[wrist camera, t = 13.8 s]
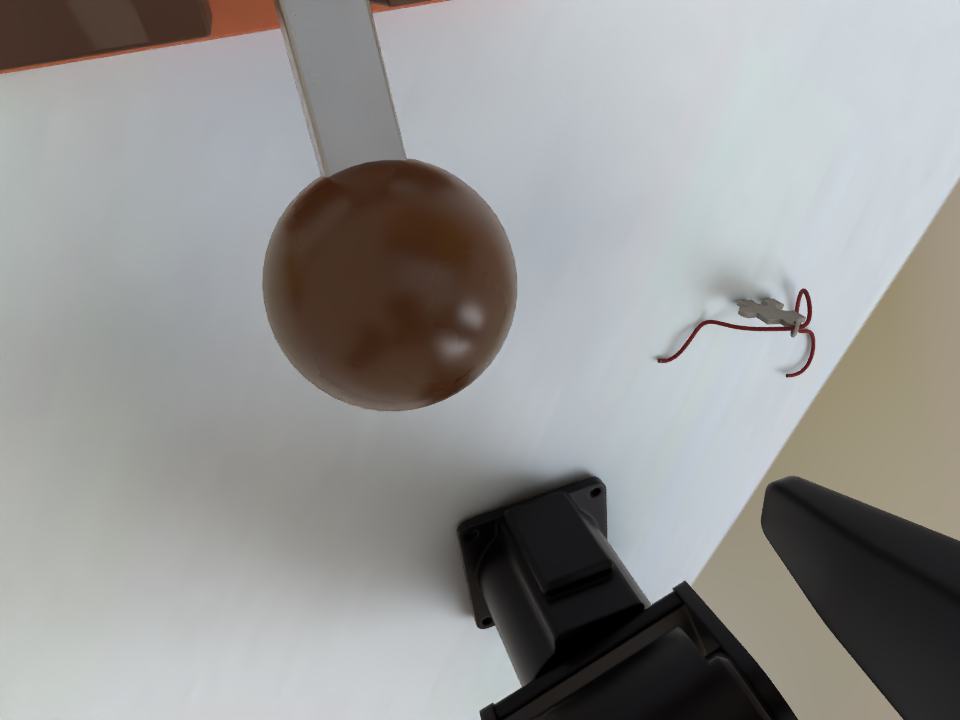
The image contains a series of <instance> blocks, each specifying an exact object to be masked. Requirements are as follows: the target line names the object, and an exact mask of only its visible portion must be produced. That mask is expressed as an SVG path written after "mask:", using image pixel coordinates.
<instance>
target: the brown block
mask: <svg viewBox="0 0 960 720" xmlns="http://www.w3.org/2000/svg"><path fill="white" fill-rule="evenodd" d="M443 1H449V0H369V3H370V7H371V11H372V13H376V12H382V11H388V10H394V9H400V8H406V7H412V6H418V5H424V4H431V3H437V2H443ZM278 28H280V24H279V21H278V17H277V13H276V10H275V6H274V2H273V0H0V74H4V73H10V72H16V71H22V70H28V69H34V68H40V67H46V66H52V65H59V64H65V63H71V62H77V61H83V60H89V59H95V58H101V57H107V56H113V55H120V54H126V53H132V52H138V51H144V50H150V49H156V48H162V47H168V46H174V45H180V44H187V43H193V42H199V41H205V40H211V39H217V38H223V37H229V36H235V35H241V34H248V33H254V32H260V31H266V30H272V29H278Z"/></svg>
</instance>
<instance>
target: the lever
mask: <svg viewBox="0 0 960 720" xmlns="http://www.w3.org/2000/svg"><path fill="white" fill-rule="evenodd" d="M273 2H274V6H275V10H276V13H277V17H278V21H279V24H280V28H281V32H282V35H283V39H284V42H285V46H286V50H287V53H288V57H289V61H290V64H291V68H292V72H293V75H294V79H295V83H296V86H297V90H298V94H299V97H300V101H301V105H302V108H303V112H304V116H305V119H306V123H307V127H308V130H309V134H310V137H311V141H312V145H313V148H314V152H315V156H316V159H317V163H318V167H319V170H320V174H321V177H319V178H317V179H316V180H314V181H313V182H312V183H311V184H309V185H308V186H307V187H306V188H305V189H303V190H302V191H301V192H300V193H299V194H298V195H297V196H296V197H295V199H294V200H293V201H292V202H291V203H290V204H289V205H288V207H287V208H286V210H285V211H284V213H283V214H282V216H281V217H280V219H279V220H278V222H277V224H276V226H275V229H274V231H273V233H272V235H271V238H270V241H269V244H268V247H267V250H266V254H265V260H264V265H263V281H262V287H263V298H264V305H265V309H266V313H267V317H268V321H269V324H270V326H271V329H272V331H273V334H274V337H275V339H276V340H277V342H278V344H279V346H280V348H281V349H282V351H283V353H284V354H285V356H286V357H287V358H288V360H289V361H290V362H291V364H292V365H293V366H294V367H295V368H296V369H297V370H298V371H299V372H300V373H301V374H302V375H303V376H304V377H305V378H306V379H307V380H308V381H309V382H311V383H312V384H313V385H315V386H316V387H317V388H319V389H320V390H322V391H324V392H325V393H327V394H329V395H330V396H332V397H334V398H336V399H338V400H341V401H343V402H345V403H348V404H350V405H354V406H357V407H361V408H364V409H371V410H377V411H405V410H413V409H418V408H422V407H426V406H429V405H432V404H435V403H437V402H440V401H443V400H445V399H447V398H449V397H451V396H453V395H455V394H457V393H458V392H460V391H461V390H463V389H464V388H465V387H467V386H468V385H470V384H471V383H472V382H473V381H474V380H475V379H477V378H478V377H479V376H480V375H481V374H482V373H483V372H484V371H485V369H486V368H487V367H488V366H489V365H490V364H491V363H492V361H493V360H494V358H495V357H496V355H497V354H498V352H499V351H500V349H501V347H502V345H503V343H504V341H505V339H506V337H507V335H508V332H509V329H510V327H511V324H512V321H513V316H514V312H515V308H516V299H517V273H516V266H515V259H514V256H513V252H512V248H511V245H510V242H509V240H508V237H507V235H506V232H505V230H504V228H503V226H502V225H501V223H500V221H499V219H498V218H497V216H496V214H495V213H494V212H493V210H492V209H491V208H490V206H489V205H488V204H487V203H486V202H485V201H484V200H483V198H482V197H481V196H480V195H479V194H478V193H477V192H476V191H475V190H473V189H472V188H471V187H469V186H468V185H467V184H466V183H464V182H463V181H462V180H461V179H459V178H457V177H456V176H454V175H452V174H451V173H449V172H447V171H446V170H443V169H441V168H438V167H436V166H434V165H431V164H428V163H425V162H421V161H418V160H414V159H407V158H406V154H405V150H404V146H403V141H402V137H401V133H400V129H399V125H398V120H397V116H396V112H395V108H394V104H393V99H392V95H391V91H390V87H389V83H388V78H387V74H386V70H385V66H384V62H383V57H382V53H381V49H380V45H379V41H378V36H377V32H376V28H375V24H374V20H373V15H372V11H371V7H370V3H369V0H273Z"/></svg>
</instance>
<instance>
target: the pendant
mask: <svg viewBox="0 0 960 720" xmlns="http://www.w3.org/2000/svg"><path fill="white" fill-rule="evenodd" d="M803 293H804V294H805V297H806V300H807V307H808V314H807V319H806V317H804V316H802V315H801V314H799V306H800V301H801V297H802V294H803ZM737 305H738V306H740V308H739V311H738V314H739V315H741V316H743V317H746V318H755V317H756V318H758V319H760V320H762V321H763V322H765V323H766V324H782V325H783V326H785V327H747V326H739V325H733V324H729V323H725V322H720V321H715V320H707V321H704V322H702V323H700V324H699V325H698V326H697V327H696V329H695V330H694V331H693V333H692V334H691V336H690V337H689V338H688V340H687V341H686V343H685V344H684V345H683V347H682V348H681V349H680V350H679V351H678V352H677V353H676V354H675V355H674V356H672V357H670V358H668V359H658V363H667V362H670V361H672V360H674V359H676V358H677V357H678V356H679V355H680V354H681V353H682V352H683V351H684V350H685V349H686V348H687V346H688V345H689V344H690V342H691V341H692V339H693V338H694V336H695V335H696V333H697V332H698V331H699V330H700V328H701V327H703V326H704V325H706V324H717V325H721V326H725V327H729V328H734V329H740V330H750V331H791V337H795V336H796V334H797V332H799V333H809V334H810V336H811V343H812V344H811V352H810V356H809V359H808V361H807V363H806V365H805V366H804V367H803V368H802V369H801V370H800V371H798V372H796V373H793V374H786V377H794V376H798V375H800V374H801V373H803V372H804V371H805V370H806V369H807V368H808V367H809V365H810V363H811V361H812V359H813V356H814V351H815V336H814V334H813V332H812V331H811V330H801V329H803V328H805V327H806V326H807V325H808V324H809V323H810V321H811V317H812V305H811V299H810V296H809V293H808V291H807V290H806V289H801V290H800V292H799V294H798V297H797V301H796V306H795V311H783V310H782V309H783V306H784V304H782V303H780V302H779V301H777V300H775V299H762V301H761V305H760V304H757V303H755V302H754V301H752V300H739V301H738V304H737ZM805 319H806V321H805ZM804 321H805V323H804V324H802V325H801V322H804Z"/></svg>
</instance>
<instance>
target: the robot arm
mask: <svg viewBox="0 0 960 720" xmlns="http://www.w3.org/2000/svg"><path fill="white" fill-rule="evenodd" d="M592 489H593V490H592ZM761 526H762V529H763V532H764V534H765V536H766V538H767V539H768V541H769V542H770V544H771V545H772V547H773V548H774V550H775V551H776V553H777V554H778V555H779V557H780V558H781V560H782V561H783V563H784V564H785V566H786V567H787V569H788V570H789V572H790V573H791V575H792V576H793V578H794V579H795V581H796V582H797V583H798V585H799V587H800V588H801V590H802V591H803V593H804V594H805V595H806V597H807V598H808V600H809V601H810V603H811V604H812V606H813V607H814V609H815V610H816V612H817V613H818V614H819V616H820V617H821V619H822V620H823V621H824V623H825V624H826V625H827V627H828V628H829V629H830V630H831V632H832V633H833V634H834V636H835V637H836V638H837V639H838V640H839V642H840V643H841V644H842V645H843V647H844V648H845V649H846V650H847V651H848V653H849V654H850V655H851V656H852V658H854V660H855V661H856V662H857V664H858V665H859V666H860V667H861V668H862V670H863V671H864V672H865V673H866V674H867V676H868V677H869V678H870V679H871V681H872V682H873V683H874V684H875V686H876V687H877V688H878V689H879V690H880V692H881V693H882V694H883V695H884V696H885V698H886V699H887V700H888V701H889V702H890V704H891V705H892V706H893V707H894V709H895V710H896V711H897V712H898V713H899V715H900V716H901V717H902V718H903V720H960V541H958V540H956V539H953V538H951V537H948V536H946V535H943V534H941V533H938V532H936V531H933V530H931V529H928V528H926V527H923V526H921V525H918V524H916V523H913V522H911V521H908V520H906V519H903V518H900V517H898V516H895V515H893V514H891V513H888V512H886V511H883V510H880V509H878V508H875V507H873V506H870V505H868V504H865V503H863V502H860V501H858V500H855V499H853V498H850V497H848V496H845V495H843V494H840V493H838V492H835V491H833V490H830V489H828V488H825V487H822V486H820V485H818V484H815V483H813V482H810V481H808V480H805V479H802V478H800V477H796V476H788V477H785V478H782V479H779V480H777V481H774V482H772V483H770V484H769V485H768V486H767V488H766V491H765V497H764V503H763V509H762V516H761ZM471 531H473V532H471ZM469 532H471V533H469ZM468 533H469V534H468ZM457 537H458V542H459V547H460V552H461V557H462V562H463V567H464V572H465V577H466V582H467V587H468V592H469V597H470V602H471V607H472V612H473V617H474V620H475V622H476V625H477V627H478V628H480V629H486V628H490V627H492V626H495V625H496V628H497V630H498V632H499V635H500V637H501V639H502V642H503V644H504V646H505V649H506V651H507V653H508V656H509V658H510V660H511V663H512V665H513V667H514V670H515V672H516V674H517V677H518V679H519V681H520V684H521V686H522V688H520V689H518V690H517V691H515V692H514V693H512V694H510V695H509V696H507V697H506V698H504V699H503V700H501V701H499V702H498V703H496V704H494V703H491V704H490V705H488V706H487V707H485V708H483V709H482V710H480V716H481V720H798V719H797V717H796V716H795V714H794V713H793V711H792V710H791V708H790V707H789V705H788V704H787V702H786V701H785V700H784V698H783V697H782V695H781V694H780V692H779V691H778V690H777V688H776V687H775V686H774V684H773V683H772V681H771V680H770V679H769V677H768V676H767V675H766V673H765V672H764V671H763V670H762V669H761V667H760V666H759V665H758V663H757V662H756V661H755V660H754V659H753V657H752V656H751V655H750V654H749V653H748V652H747V650H746V649H745V648H744V647H743V646H742V645H741V643H739V641H738V640H737V639H736V638H735V637H734V635H733V634H732V633H731V632H730V631H729V630H728V629H727V628H726V626H725V625H724V624H723V623H722V622H721V621H720V620H719V619H718V617H717V616H716V615H715V614H714V613H713V612H712V610H711V609H710V608H709V607H708V606H707V605H706V604H705V602H704V601H703V600H702V599H701V598H700V597H699V596H698V595H697V594H696V592H695V591H694V590H693V589H692V588H691V587H690V585H689V584H688V583H687V582H686V581H683V582H682V583H680V584H679V585H677V586H676V587H674V588H673V592H671V593H670V594H668V595H666V596H665V597H663V598H662V599H660V600H659V601H657V602H655V603H654V604H652V605H651V603H650V602H649V601H648V599H647V598H646V596H645V595H644V593H643V592H642V590H641V589H640V588H639V586H638V585H637V583H636V582H635V580H634V579H633V577H632V576H631V574H630V573H629V572H628V570H627V569H626V567H625V566H624V564H623V563H622V561H621V560H620V558H619V557H618V556H617V554H616V553H615V551H614V550H613V548H612V547H611V545H610V544H609V542H608V541H607V507H606V487H605V485H604V483H603V482H602V481H601V479H599V478H598V477H591V478H588V479H585V480H582V481H579V482H576V483H574V484H571V485H568V486H565V487H562V488H559V489H556V490H553V491H551V492H548V493H545V494H542V495H539V496H536V497H533V498H530V499H527V500H525V501H522V502H519V503H516V504H513V505H510V506H507V507H504V508H501V509H499V510H496V511H493V512H490V513H487V514H484V515H481V516H478V517H475V518H473V519H470V520H467V521H465V522H463V523H462V524H461V525H459V527H458V529H457Z"/></svg>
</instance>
